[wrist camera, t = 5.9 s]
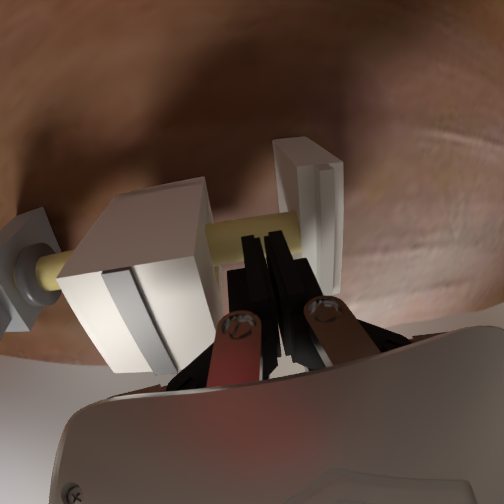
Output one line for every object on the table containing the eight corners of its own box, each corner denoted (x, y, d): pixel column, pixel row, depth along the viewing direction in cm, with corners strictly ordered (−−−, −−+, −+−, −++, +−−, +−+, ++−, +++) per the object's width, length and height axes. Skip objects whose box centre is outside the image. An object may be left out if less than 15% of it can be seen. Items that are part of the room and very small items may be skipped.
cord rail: (305, 136, 17) (376, 186, 9) (310, 237, 20) (359, 333, 13) (11, 203, 16) (-62, 274, 9) (46, 280, 20) (-1, 364, 12)
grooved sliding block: (204, 176, 15) (193, 259, 8) (221, 259, 18) (226, 368, 11) (116, 194, 15) (53, 282, 8) (142, 272, 18) (113, 376, 11)
